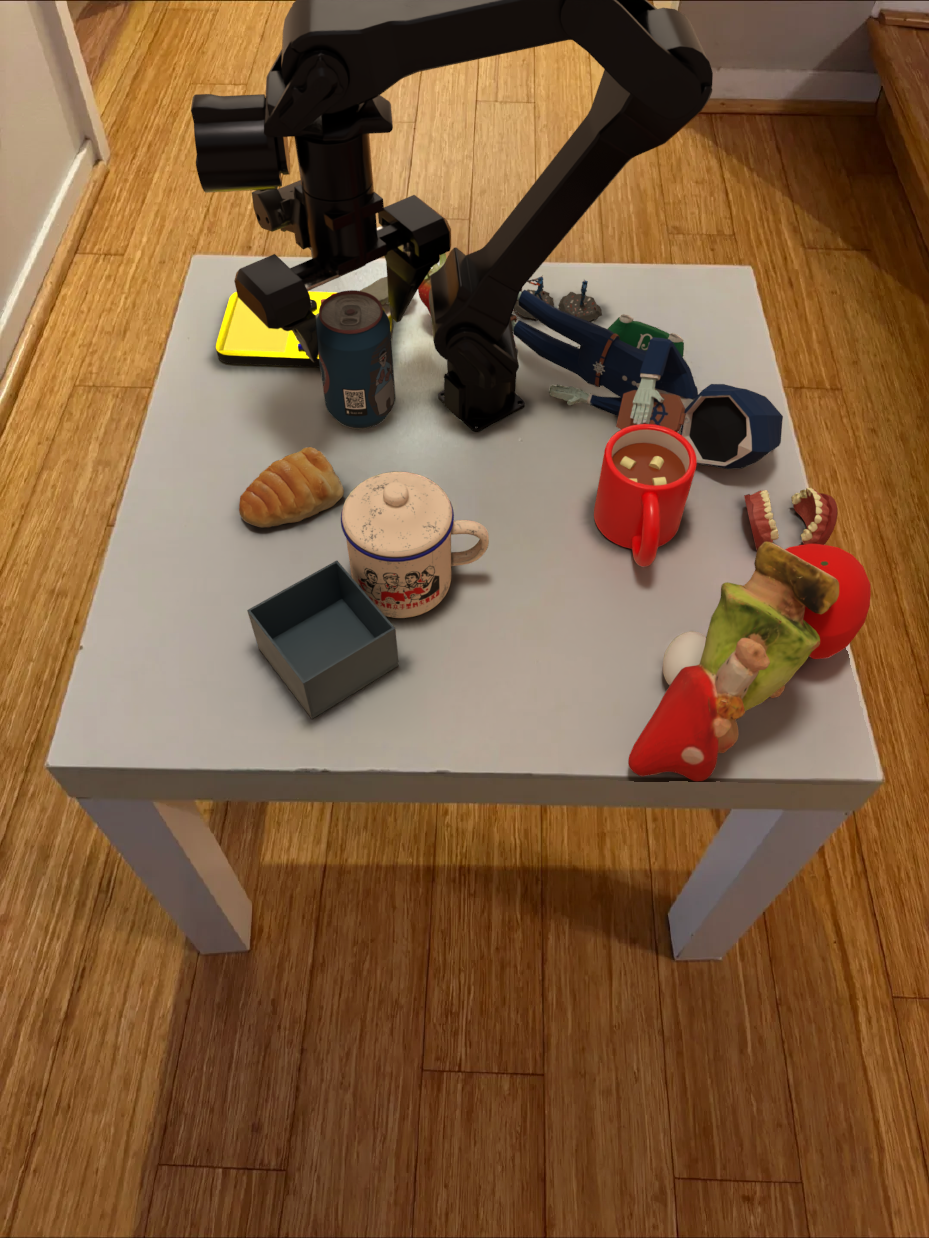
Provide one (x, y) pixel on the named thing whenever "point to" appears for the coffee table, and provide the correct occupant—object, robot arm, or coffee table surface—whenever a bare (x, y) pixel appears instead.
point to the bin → (324, 638)
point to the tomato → (852, 600)
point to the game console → (264, 337)
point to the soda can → (355, 359)
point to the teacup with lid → (404, 542)
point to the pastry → (291, 490)
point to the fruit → (429, 283)
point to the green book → (642, 333)
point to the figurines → (566, 302)
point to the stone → (377, 291)
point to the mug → (644, 488)
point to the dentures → (807, 503)
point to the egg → (683, 654)
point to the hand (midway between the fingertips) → (354, 339)
